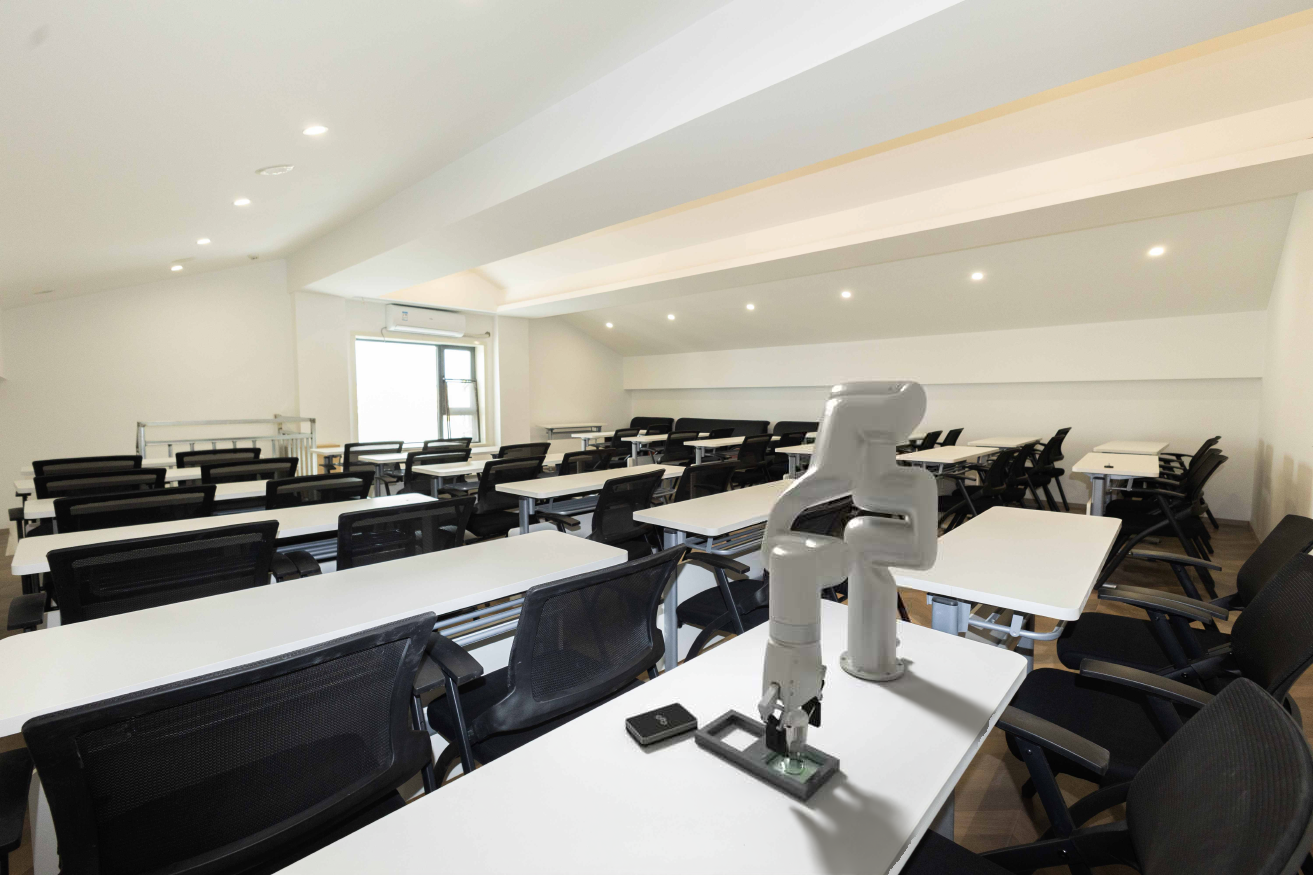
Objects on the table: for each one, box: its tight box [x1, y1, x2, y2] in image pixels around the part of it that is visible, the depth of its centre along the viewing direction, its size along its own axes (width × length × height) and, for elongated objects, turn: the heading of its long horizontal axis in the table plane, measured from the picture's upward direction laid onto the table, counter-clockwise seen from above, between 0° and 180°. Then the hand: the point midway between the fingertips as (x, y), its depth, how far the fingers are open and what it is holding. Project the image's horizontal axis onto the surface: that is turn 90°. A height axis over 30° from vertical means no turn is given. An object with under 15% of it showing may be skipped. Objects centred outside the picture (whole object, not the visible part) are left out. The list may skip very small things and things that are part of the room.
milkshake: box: [777, 707, 814, 774], centre depth 90 cm, size 4×5×10 cm
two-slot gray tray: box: [694, 708, 841, 803], centre depth 94 cm, size 10×21×2 cm, turn 45°
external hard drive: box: [624, 702, 699, 748], centre depth 102 cm, size 7×11×2 cm, turn 119°
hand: (794, 736), depth 90 cm, fingers open, 9 cm apart
